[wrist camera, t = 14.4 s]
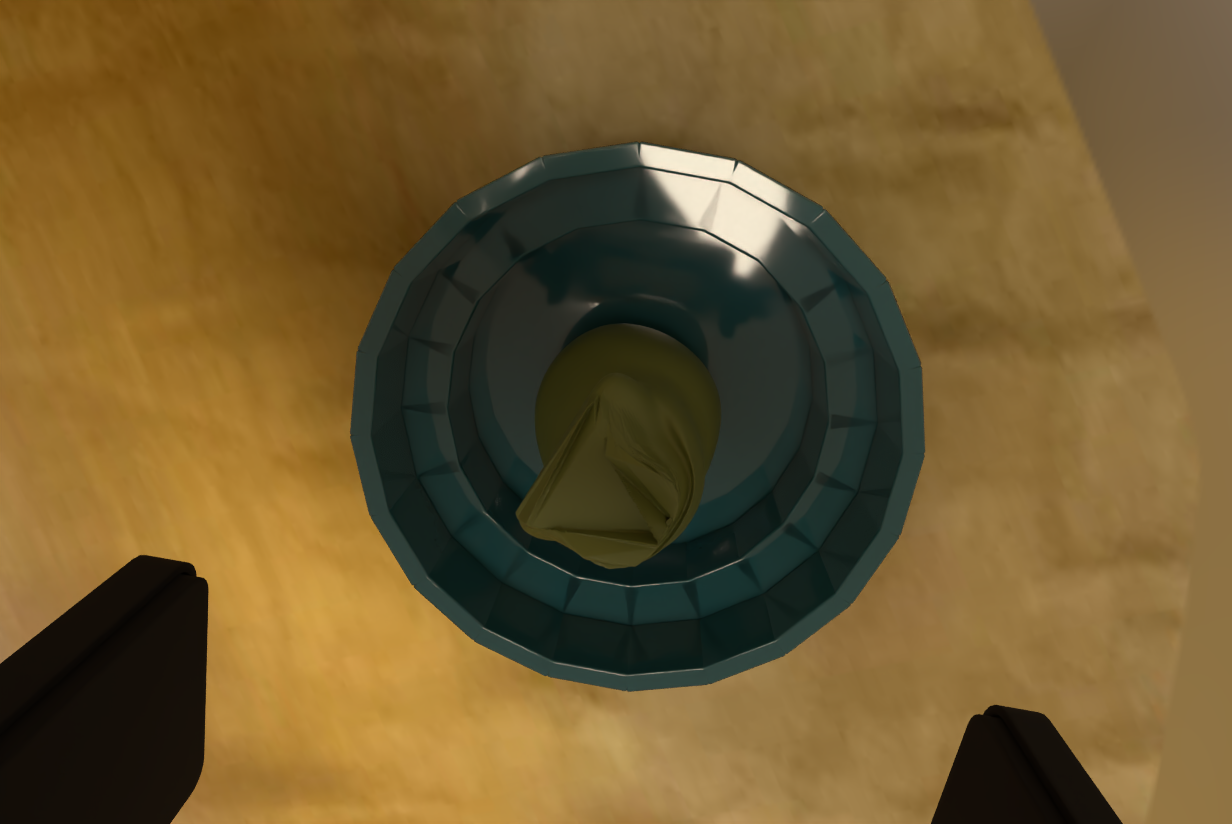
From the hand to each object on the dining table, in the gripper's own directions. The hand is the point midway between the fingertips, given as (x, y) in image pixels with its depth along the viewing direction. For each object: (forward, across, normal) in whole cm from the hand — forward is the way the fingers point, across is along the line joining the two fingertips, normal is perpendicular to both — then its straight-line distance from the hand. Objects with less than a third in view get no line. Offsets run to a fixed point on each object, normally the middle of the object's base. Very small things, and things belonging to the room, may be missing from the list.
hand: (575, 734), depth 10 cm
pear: (+18, 0, +1) cm, 18 cm away
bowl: (+18, -1, +1) cm, 18 cm away
